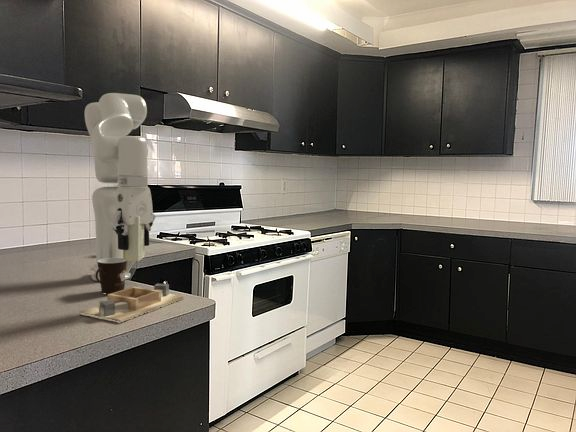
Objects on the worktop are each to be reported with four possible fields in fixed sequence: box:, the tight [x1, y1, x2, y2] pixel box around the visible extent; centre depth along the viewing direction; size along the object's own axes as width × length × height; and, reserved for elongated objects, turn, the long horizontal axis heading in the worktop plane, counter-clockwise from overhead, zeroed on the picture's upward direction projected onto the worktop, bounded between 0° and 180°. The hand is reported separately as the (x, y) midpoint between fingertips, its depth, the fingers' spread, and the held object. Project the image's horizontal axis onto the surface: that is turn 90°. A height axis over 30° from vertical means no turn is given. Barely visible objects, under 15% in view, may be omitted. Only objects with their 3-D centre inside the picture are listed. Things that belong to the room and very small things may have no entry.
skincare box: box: [123, 217, 145, 262], centre depth 130 cm, size 6×4×12 cm
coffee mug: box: [96, 258, 128, 294], centre depth 144 cm, size 12×9×10 cm
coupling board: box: [79, 283, 184, 322], centre depth 131 cm, size 14×25×4 cm, turn 155°
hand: (134, 246), depth 130 cm, fingers closed on skincare box, 7 cm apart
